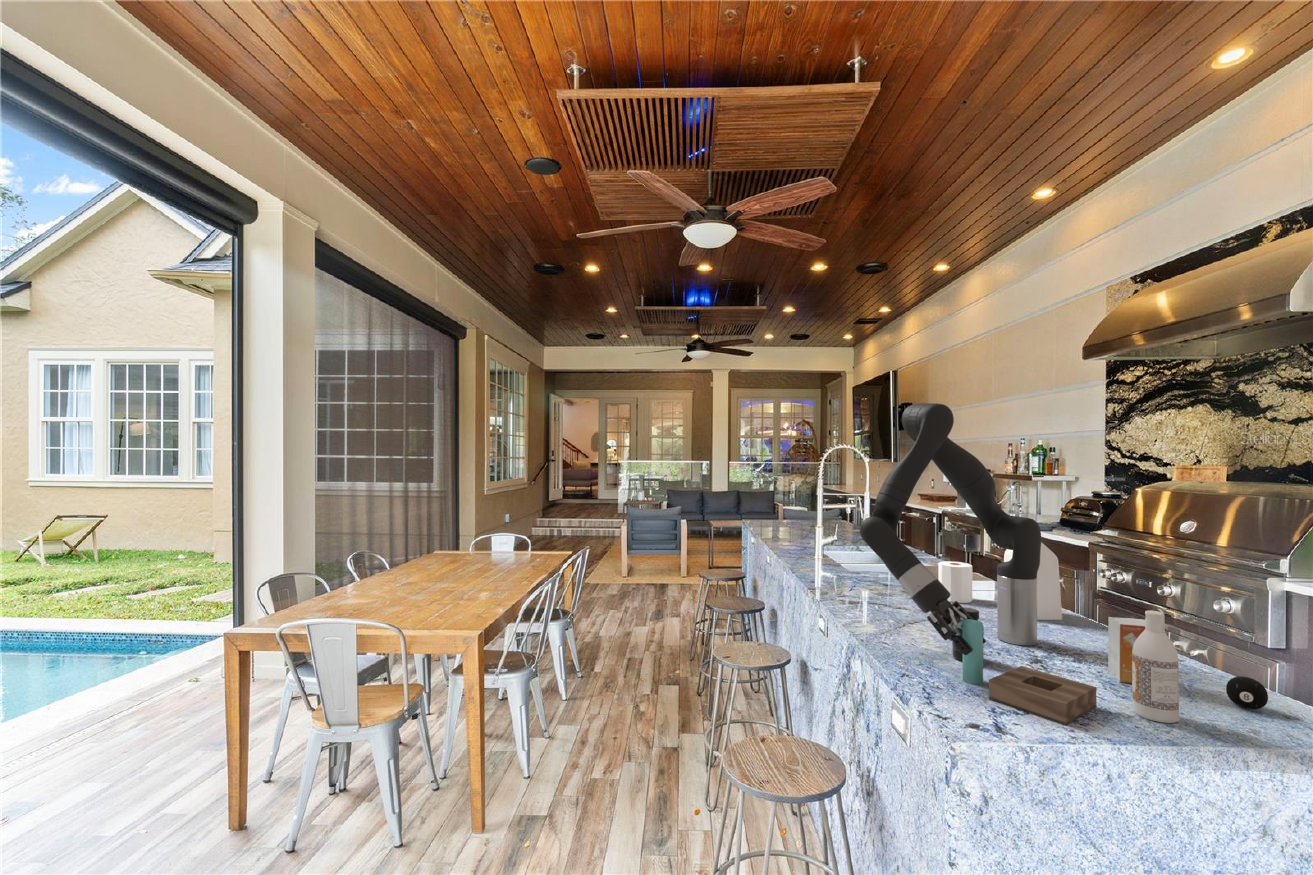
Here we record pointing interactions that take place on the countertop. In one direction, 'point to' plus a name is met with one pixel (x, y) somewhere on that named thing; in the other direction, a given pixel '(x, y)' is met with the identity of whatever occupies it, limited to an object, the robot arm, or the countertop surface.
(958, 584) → the toilet paper
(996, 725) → the countertop surface
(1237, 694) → the billiard ball
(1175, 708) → the bath foam
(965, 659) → the pin
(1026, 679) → the bore block
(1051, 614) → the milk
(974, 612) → the supplement bottle
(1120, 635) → the small box
